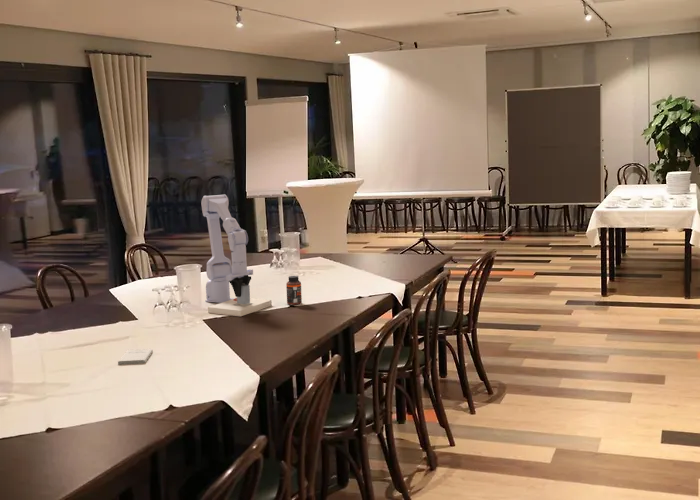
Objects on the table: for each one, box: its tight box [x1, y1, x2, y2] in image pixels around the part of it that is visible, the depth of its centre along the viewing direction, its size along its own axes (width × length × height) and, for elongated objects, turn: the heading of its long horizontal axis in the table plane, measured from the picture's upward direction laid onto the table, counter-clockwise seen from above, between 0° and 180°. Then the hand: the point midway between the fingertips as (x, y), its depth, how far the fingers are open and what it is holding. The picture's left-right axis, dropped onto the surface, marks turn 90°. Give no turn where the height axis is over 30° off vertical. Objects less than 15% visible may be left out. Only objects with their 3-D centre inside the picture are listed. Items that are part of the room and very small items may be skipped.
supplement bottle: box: [285, 275, 303, 306], centre depth 311 cm, size 6×6×11 cm
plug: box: [236, 283, 251, 304], centre depth 303 cm, size 4×3×8 cm
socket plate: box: [207, 297, 272, 317], centre depth 306 cm, size 16×20×3 cm
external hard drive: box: [117, 348, 154, 366], centre depth 242 cm, size 2×8×12 cm
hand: (241, 295), depth 304 cm, fingers closed on plug, 3 cm apart
